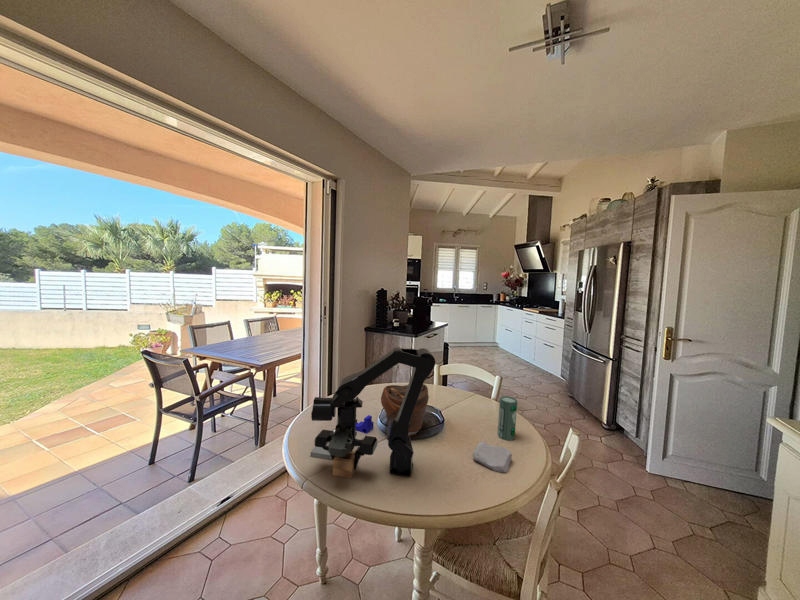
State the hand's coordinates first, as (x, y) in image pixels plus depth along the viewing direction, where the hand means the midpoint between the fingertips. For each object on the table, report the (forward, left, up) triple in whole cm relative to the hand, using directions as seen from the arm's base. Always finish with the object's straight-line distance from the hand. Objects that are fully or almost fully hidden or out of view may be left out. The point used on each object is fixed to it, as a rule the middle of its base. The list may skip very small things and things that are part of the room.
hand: (345, 467), depth 94 cm
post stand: (+8, -10, -1) cm, 13 cm away
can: (-53, -35, -1) cm, 64 cm away
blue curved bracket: (+5, -26, -1) cm, 27 cm away
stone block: (-46, -17, -2) cm, 49 cm away
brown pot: (-13, -30, -1) cm, 33 cm away
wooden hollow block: (0, 0, -1) cm, 1 cm away
